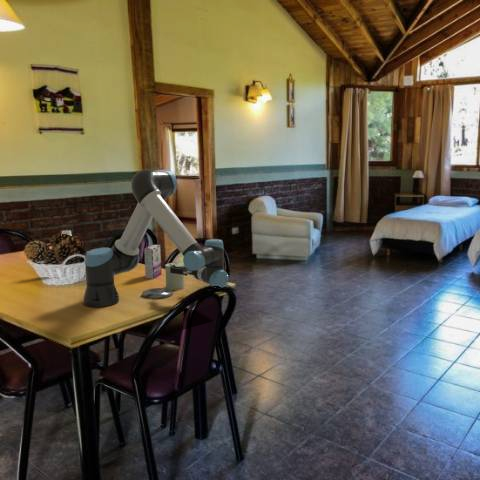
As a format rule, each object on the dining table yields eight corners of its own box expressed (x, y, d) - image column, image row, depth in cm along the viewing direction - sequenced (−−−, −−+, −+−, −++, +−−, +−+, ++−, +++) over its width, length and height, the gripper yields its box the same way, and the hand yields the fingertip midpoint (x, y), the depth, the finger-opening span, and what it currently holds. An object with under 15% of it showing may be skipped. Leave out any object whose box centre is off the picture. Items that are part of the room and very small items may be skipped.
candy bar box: (153, 273, 258) (152, 244, 256) (161, 274, 257) (160, 244, 255) (144, 278, 248) (143, 248, 245) (153, 279, 247) (152, 248, 244)
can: (186, 285, 234) (185, 262, 232) (182, 290, 225) (181, 266, 223) (168, 284, 235) (167, 261, 233) (163, 289, 226) (162, 265, 224)
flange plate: (152, 300, 208) (152, 297, 208) (136, 294, 218) (136, 291, 218) (178, 294, 217) (178, 292, 217) (162, 288, 227) (162, 286, 227)
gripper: (178, 285, 195) (159, 275, 213) (229, 277, 208) (207, 268, 226) (177, 268, 194) (158, 259, 212) (229, 260, 207) (207, 253, 225)
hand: (183, 264), depth 219 cm, fingers open, 13 cm apart
